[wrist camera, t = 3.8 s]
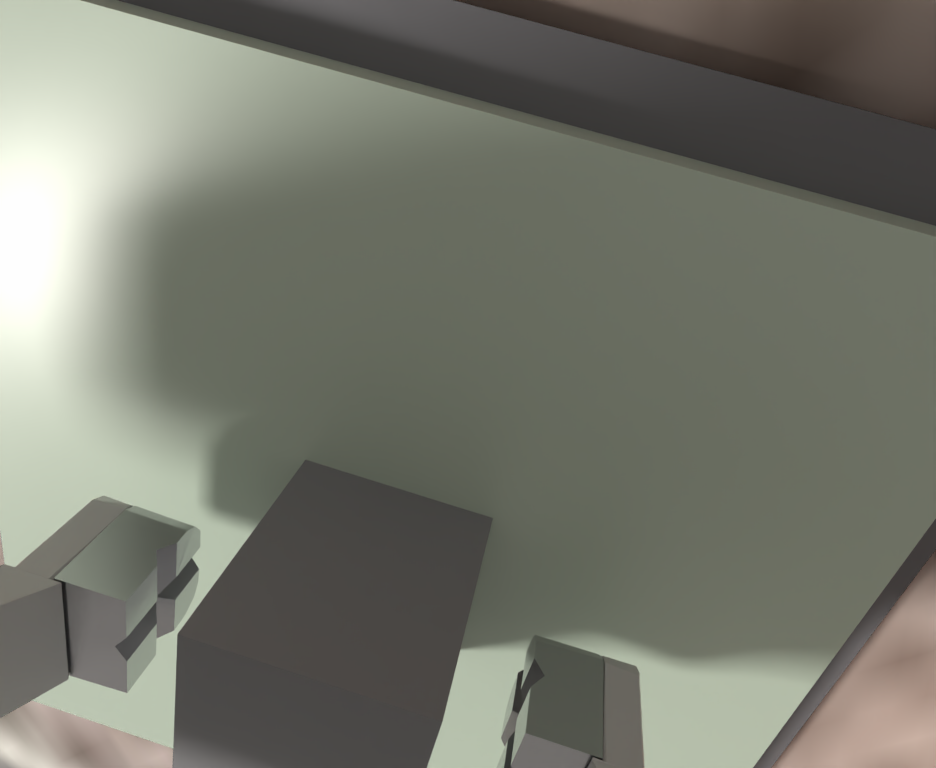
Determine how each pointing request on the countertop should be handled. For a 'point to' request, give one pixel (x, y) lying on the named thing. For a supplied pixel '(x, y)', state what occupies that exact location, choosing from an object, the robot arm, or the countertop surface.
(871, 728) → the countertop surface
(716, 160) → the mat
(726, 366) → the lid
